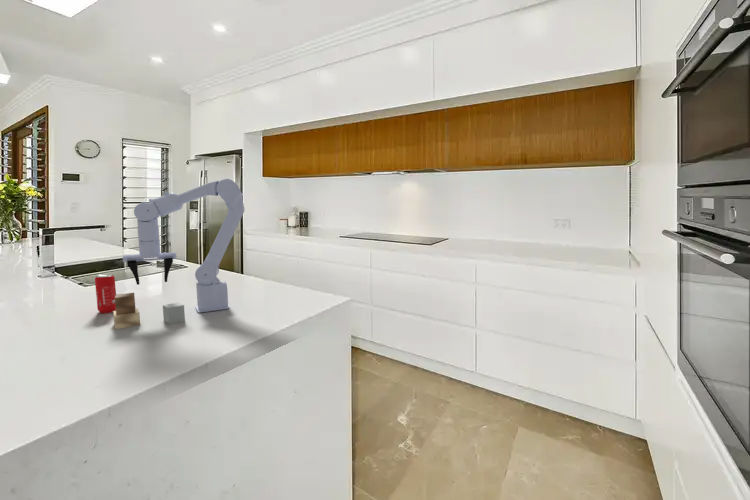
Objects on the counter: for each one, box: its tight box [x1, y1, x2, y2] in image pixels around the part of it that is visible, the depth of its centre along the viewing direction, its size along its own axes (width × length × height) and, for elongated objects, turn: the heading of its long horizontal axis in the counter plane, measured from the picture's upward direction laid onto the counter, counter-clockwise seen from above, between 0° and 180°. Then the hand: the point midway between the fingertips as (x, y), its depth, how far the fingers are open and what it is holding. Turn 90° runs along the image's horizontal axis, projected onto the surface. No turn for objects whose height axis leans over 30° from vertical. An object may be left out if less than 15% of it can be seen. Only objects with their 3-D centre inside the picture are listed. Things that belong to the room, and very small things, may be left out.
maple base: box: [112, 307, 141, 330], centre depth 110 cm, size 6×6×4 cm
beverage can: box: [94, 273, 117, 314], centre depth 122 cm, size 5×5×12 cm
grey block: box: [162, 302, 186, 325], centre depth 113 cm, size 4×4×5 cm
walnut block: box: [115, 292, 137, 315], centre depth 110 cm, size 4×4×5 cm
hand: (152, 282), depth 120 cm, fingers open, 7 cm apart
